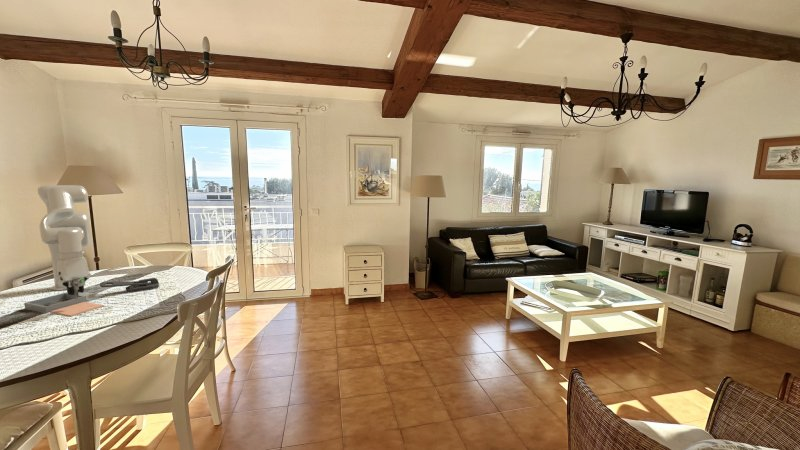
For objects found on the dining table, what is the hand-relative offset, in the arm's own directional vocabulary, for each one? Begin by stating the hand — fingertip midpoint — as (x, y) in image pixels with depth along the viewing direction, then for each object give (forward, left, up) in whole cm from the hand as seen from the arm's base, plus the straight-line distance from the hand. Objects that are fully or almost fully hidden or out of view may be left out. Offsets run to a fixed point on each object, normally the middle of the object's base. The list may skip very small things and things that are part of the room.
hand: (76, 293), depth 155 cm
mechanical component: (0, 0, -3) cm, 3 cm away
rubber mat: (0, 0, -8) cm, 8 cm away
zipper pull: (-27, -5, -8) cm, 28 cm away
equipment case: (-4, -16, -8) cm, 18 cm away
